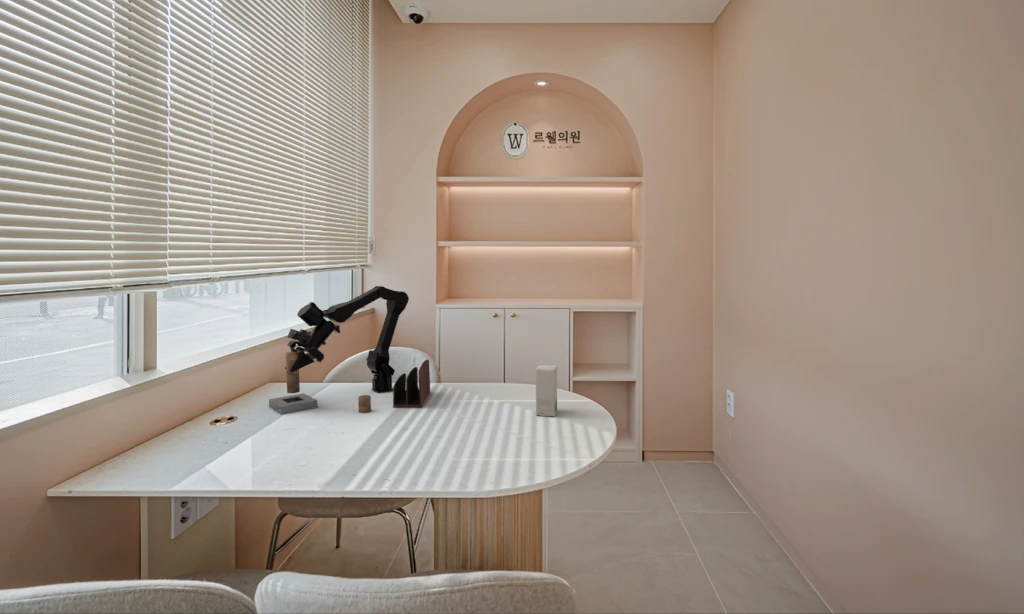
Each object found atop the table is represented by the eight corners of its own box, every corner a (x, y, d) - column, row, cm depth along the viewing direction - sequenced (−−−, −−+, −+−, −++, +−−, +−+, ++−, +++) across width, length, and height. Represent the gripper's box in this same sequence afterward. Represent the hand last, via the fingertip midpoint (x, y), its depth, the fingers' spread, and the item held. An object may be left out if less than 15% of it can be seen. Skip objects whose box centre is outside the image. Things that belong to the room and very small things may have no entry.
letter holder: (430, 393, 199) (430, 356, 197) (421, 408, 179) (421, 368, 178) (404, 393, 199) (403, 356, 197) (392, 408, 179) (392, 367, 178)
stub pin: (368, 408, 178) (367, 394, 177) (372, 411, 175) (372, 396, 174) (356, 410, 175) (356, 396, 175) (361, 413, 172) (360, 398, 172)
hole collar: (304, 400, 188) (303, 393, 187) (317, 407, 179) (317, 400, 179) (269, 406, 180) (268, 399, 179) (281, 414, 171) (280, 406, 171)
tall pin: (300, 389, 181) (298, 351, 180) (299, 392, 177) (297, 353, 176) (287, 390, 180) (286, 352, 178) (286, 393, 176) (284, 354, 174)
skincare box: (554, 417, 170) (555, 370, 168) (534, 416, 171) (534, 369, 169) (557, 410, 178) (558, 364, 176) (538, 408, 179) (538, 364, 177)
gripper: (292, 317, 185) (260, 352, 179) (313, 322, 172) (280, 360, 165) (314, 337, 192) (285, 371, 185) (337, 343, 178) (306, 380, 172)
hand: (288, 370), depth 177 cm, fingers closed on tall pin, 4 cm apart
